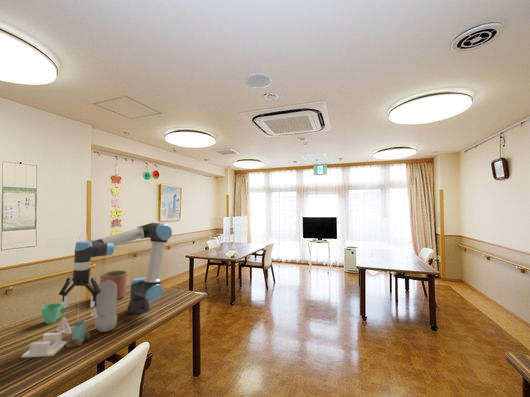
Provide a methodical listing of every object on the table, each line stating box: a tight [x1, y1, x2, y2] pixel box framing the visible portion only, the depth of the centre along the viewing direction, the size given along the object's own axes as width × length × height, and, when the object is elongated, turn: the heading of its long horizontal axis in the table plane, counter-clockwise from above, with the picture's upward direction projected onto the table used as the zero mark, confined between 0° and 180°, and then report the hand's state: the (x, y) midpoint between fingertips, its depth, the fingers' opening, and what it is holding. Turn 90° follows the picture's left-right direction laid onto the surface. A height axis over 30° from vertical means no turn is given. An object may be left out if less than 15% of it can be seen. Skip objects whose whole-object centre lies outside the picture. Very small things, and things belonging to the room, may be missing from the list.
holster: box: [65, 332, 91, 348], centre depth 135 cm, size 7×9×3 cm
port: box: [20, 332, 68, 358], centre depth 127 cm, size 14×12×6 cm
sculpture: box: [94, 280, 118, 333], centre depth 150 cm, size 15×12×30 cm
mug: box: [40, 302, 68, 325], centre depth 159 cm, size 15×10×10 cm
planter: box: [99, 269, 128, 301], centre depth 200 cm, size 19×19×20 cm
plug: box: [71, 318, 87, 343], centre depth 135 cm, size 4×5×12 cm
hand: (79, 307), depth 136 cm, fingers open, 13 cm apart
